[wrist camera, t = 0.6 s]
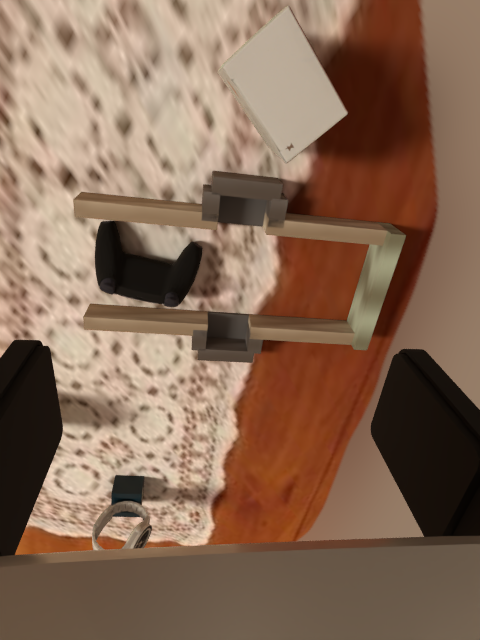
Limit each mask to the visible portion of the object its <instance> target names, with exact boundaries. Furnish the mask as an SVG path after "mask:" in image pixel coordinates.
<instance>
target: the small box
mask: <svg viewBox="0 0 480 640" xmlns="http://www.w3.org/2000/svg"><path fill="white" fill-rule="evenodd" d="M218 74H219V75H220V77H221V78H222V79H223V81H224V82H225V84H226V85H227V87H228V88H229V90H230V91H231V93H232V94H233V96H234V97H235V99H236V100H237V101H238V103H239V104H240V106H241V107H242V109H243V110H244V112H245V113H246V115H247V116H248V118H249V119H250V121H251V122H252V124H253V125H254V127H255V128H256V129H257V131H258V132H259V134H260V135H261V137H262V138H263V140H264V141H265V143H266V144H267V146H268V147H269V148H270V149H271V150H272V151H273V152H274V153H275V154H276V155H277V156H278V157H280V158H281V159H282V160H283V161H284V162H285V163H288V162H289V161H291V160H292V159H293V158H294V157H296V156H297V155H298V154H299V153H300V152H302V151H303V150H304V149H305V148H307V147H308V146H309V145H310V144H311V143H313V142H314V141H315V140H316V139H318V138H319V137H320V136H321V135H323V134H324V133H325V132H326V131H328V130H329V129H330V128H331V127H332V126H334V125H335V124H336V123H337V122H339V121H340V120H341V119H342V118H344V117H345V116H346V115H347V114H348V111H347V110H346V108H345V106H344V104H343V102H342V100H341V99H340V97H339V95H338V93H337V91H336V90H335V88H334V86H333V84H332V83H331V81H330V79H329V77H328V75H327V73H326V72H325V70H324V68H323V66H322V65H321V63H320V61H319V59H318V57H317V55H316V54H315V52H314V50H313V48H312V46H311V45H310V43H309V41H308V39H307V37H306V35H305V34H304V32H303V30H302V28H301V26H300V25H299V23H298V21H297V19H296V18H295V16H294V14H293V12H292V10H291V8H290V6H286V7H285V8H284V9H283V10H281V11H280V12H279V13H278V14H277V15H276V16H274V17H273V18H272V19H271V20H270V21H269V22H268V23H267V24H265V25H264V26H263V27H262V28H261V29H260V30H259V31H258V32H257V33H255V34H254V35H253V36H252V37H251V38H250V39H249V40H248V41H247V42H246V43H245V44H244V45H243V46H242V47H241V48H239V49H238V50H237V51H236V52H235V53H234V54H233V55H232V56H231V57H230V58H229V59H228V60H227V61H226V62H225V63H223V64H222V66H221V67H220V69H219V70H218Z"/></svg>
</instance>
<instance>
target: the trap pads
mask: <svg viewBox="0 0 480 640" xmlns="http://www.w3.org/2000/svg"><path fill="white" fill-rule="evenodd" d="M266 203H267V200H261V199H251V198H242V197H232V196H223V195H220V204H219V215H218V222H222V223H232V224H242V225H253V226H263V222H264V216H265V209H266ZM248 319H249V314H237V313H221V312H208V329H207V337H218V338H235V339H245V338H246V332H247V325H248Z"/></svg>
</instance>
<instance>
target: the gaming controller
mask: <svg viewBox="0 0 480 640" xmlns="http://www.w3.org/2000/svg"><path fill="white" fill-rule="evenodd" d="M201 257H202V247H201V246H199V245H198V244H196V243H194V242H191V243H190V244H189V245H188V246H187V247H186V248H185V249H184V250H183V252H182V253H181V255H180V256H179V258H178V259H177V261H176V262H175V263H174V264H167V263H164V262H160V261H156V260H152V259H148V258H144V257H140V256H135V255H131V254H126V253H124V252H123V251H122V248H121V242H120V236H119V232H118V229H117V226H116V223H115V222H114V221H103V222H101V223H100V226H99V229H98V233H97V238H96V247H95V268H96V276H97V281H98V285H99V287H100V289H101V290H102V291H104V292H106V293H109V294H118V295H121V296H123V297H127V298H131V299H135V300H139V301H144V302H149V303H156V304H162V305H165V306H167V307H176V306H178V305H179V304H180V303H181V302H182V301H183V299H184V298H185V296H186V295H187V293H188V292H189V290H190V288H191V286H192V284H193V282H194V280H195V277H196V274H197V271H198V269H199V265H200V261H201Z"/></svg>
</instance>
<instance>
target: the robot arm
mask: <svg viewBox="0 0 480 640" xmlns="http://www.w3.org/2000/svg"><path fill="white" fill-rule="evenodd" d="M62 431H63V425H62V418H61V412H60V406H59V400H58V394H57V388H56V382H55V376H54V370H53V364H52V358H51V352H50V348H49V347H48V346H43V344H42V342H41V341H39V340H14V341H13V342H12V343H11V345H10V346H9V347H8V349H7V350H6V351H5V353H4V354H3V355H2V357H1V358H0V640H480V410H479V409H478V408H477V407H476V406H475V404H474V403H473V402H472V401H471V400H470V399H469V398H468V397H467V396H466V395H465V394H464V393H463V392H462V390H461V389H460V388H459V387H458V386H457V385H456V384H455V383H454V382H453V381H452V379H451V378H450V377H449V376H448V375H447V374H446V373H445V372H444V371H443V370H442V368H441V367H440V366H439V365H438V364H437V363H436V362H435V361H434V360H433V359H432V358H431V356H429V354H428V353H427V352H426V351H424V350H420V349H403V350H401V351H400V352H399V354H396V355H394V357H393V359H392V362H391V365H390V368H389V371H388V374H387V377H386V380H385V383H384V386H383V389H382V392H381V396H380V399H379V402H378V405H377V408H376V411H375V414H374V417H373V420H372V423H371V435H372V437H373V439H374V441H375V443H376V445H377V447H378V449H379V451H380V453H381V455H382V457H383V459H384V460H385V462H386V464H387V466H388V468H389V470H390V472H391V474H392V476H393V478H394V480H395V481H396V483H397V485H398V487H399V489H400V491H401V493H402V495H403V497H404V499H405V501H406V502H407V504H408V506H409V508H410V510H411V512H412V514H413V516H414V518H415V520H416V522H417V523H418V525H419V527H420V529H421V531H422V533H423V535H424V537H411V538H410V537H409V538H381V539H352V540H324V541H299V542H273V543H249V544H225V545H201V546H179V547H157V548H136V549H114V550H92V551H75V552H59V553H43V554H27V555H15V552H16V550H17V547H18V545H19V542H20V540H21V537H22V535H23V532H24V530H25V527H26V525H27V522H28V520H29V517H30V515H31V512H32V510H33V507H34V505H35V502H36V500H37V497H38V495H39V492H40V490H41V487H42V485H43V482H44V480H45V478H46V475H47V473H48V470H49V468H50V465H51V463H52V460H53V458H54V455H55V453H56V450H57V448H58V445H59V443H60V440H61V437H62Z"/></svg>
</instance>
